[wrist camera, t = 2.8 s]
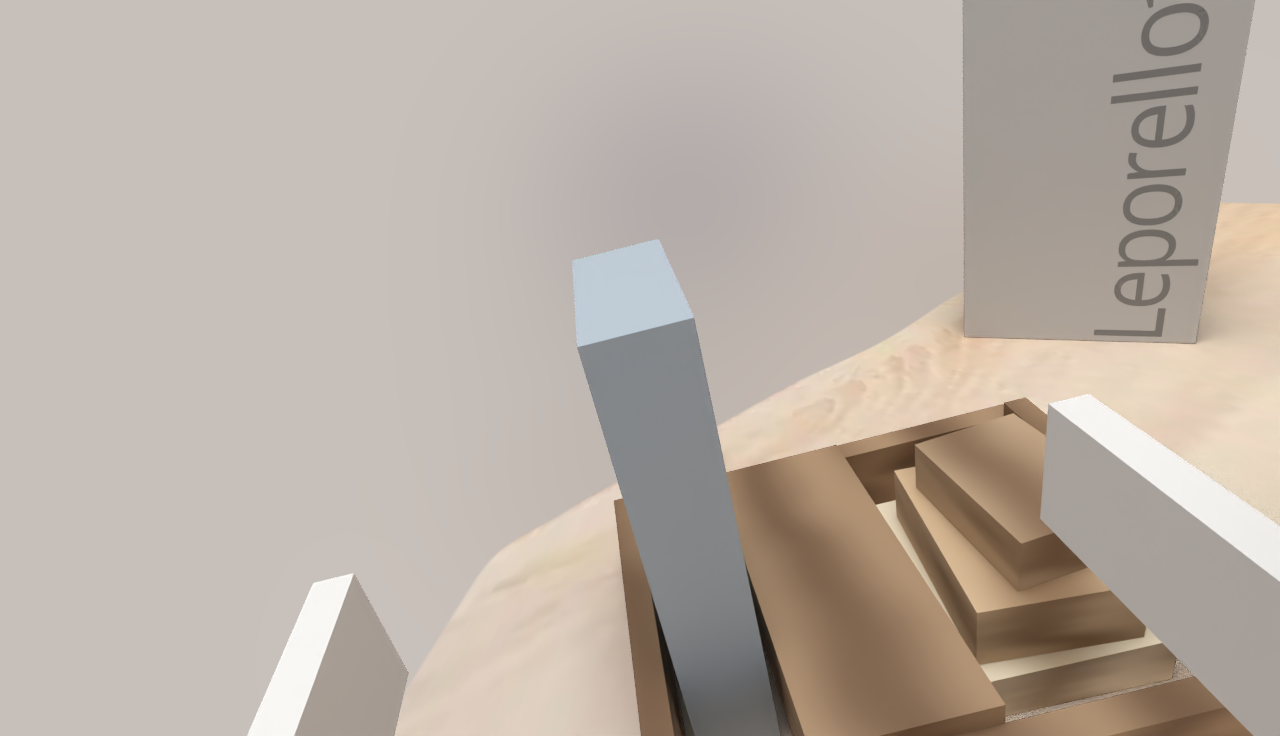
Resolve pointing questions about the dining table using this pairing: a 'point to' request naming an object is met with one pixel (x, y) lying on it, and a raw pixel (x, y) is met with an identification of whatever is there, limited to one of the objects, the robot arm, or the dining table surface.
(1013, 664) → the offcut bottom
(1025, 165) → the brochure
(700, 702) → the grey rectangular block
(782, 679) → the tray
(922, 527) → the plate
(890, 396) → the dining table surface
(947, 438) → the offcut top
